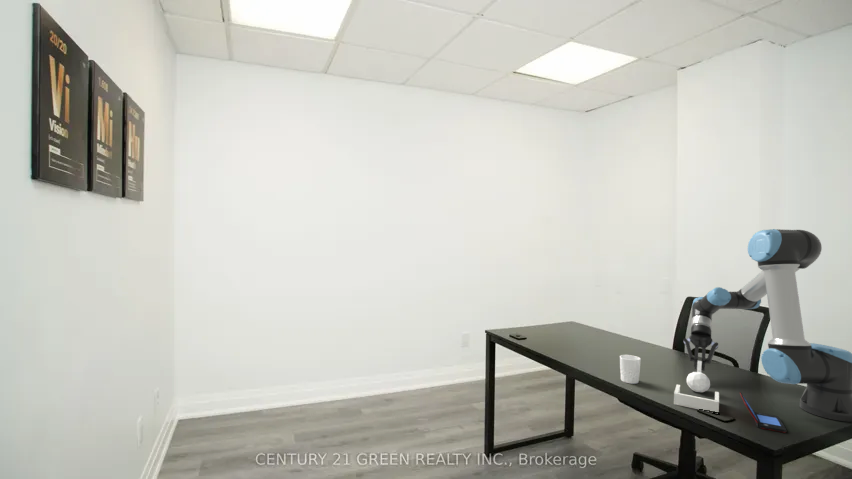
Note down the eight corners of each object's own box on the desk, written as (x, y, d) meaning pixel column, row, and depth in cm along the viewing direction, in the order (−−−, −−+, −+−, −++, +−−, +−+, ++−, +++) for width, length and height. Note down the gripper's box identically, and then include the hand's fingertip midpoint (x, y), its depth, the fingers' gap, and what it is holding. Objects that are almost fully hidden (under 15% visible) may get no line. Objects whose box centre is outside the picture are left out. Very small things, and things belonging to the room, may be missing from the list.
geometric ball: (703, 398, 165) (718, 384, 163) (692, 394, 161) (708, 380, 159) (688, 383, 171) (703, 369, 169) (678, 379, 168) (693, 365, 165)
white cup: (642, 385, 171) (643, 360, 171) (622, 383, 173) (622, 359, 173) (636, 378, 179) (637, 355, 179) (617, 377, 181) (617, 354, 180)
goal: (676, 394, 162) (676, 384, 162) (718, 402, 154) (718, 392, 154) (673, 404, 152) (674, 393, 152) (718, 413, 145) (718, 402, 145)
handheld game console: (787, 434, 131) (788, 411, 131) (744, 426, 136) (744, 403, 136) (778, 419, 142) (779, 397, 141) (739, 411, 147) (739, 390, 147)
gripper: (718, 335, 184) (718, 384, 171) (684, 331, 192) (680, 377, 178) (719, 325, 180) (718, 374, 167) (683, 321, 187) (680, 368, 174)
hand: (699, 376), depth 172 cm, fingers closed
